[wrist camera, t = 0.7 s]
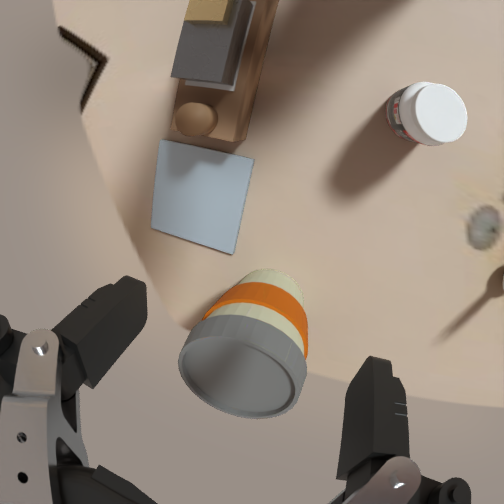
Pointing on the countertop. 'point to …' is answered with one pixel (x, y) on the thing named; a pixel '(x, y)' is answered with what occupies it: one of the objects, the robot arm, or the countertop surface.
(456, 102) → the pill bottle
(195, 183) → the rubber mat
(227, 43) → the lever cap
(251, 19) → the plane body
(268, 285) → the reusable coffee cup
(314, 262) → the countertop surface
